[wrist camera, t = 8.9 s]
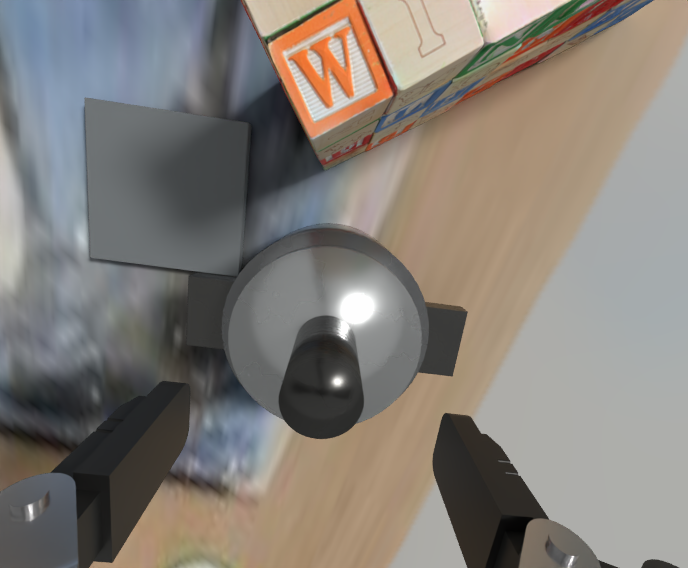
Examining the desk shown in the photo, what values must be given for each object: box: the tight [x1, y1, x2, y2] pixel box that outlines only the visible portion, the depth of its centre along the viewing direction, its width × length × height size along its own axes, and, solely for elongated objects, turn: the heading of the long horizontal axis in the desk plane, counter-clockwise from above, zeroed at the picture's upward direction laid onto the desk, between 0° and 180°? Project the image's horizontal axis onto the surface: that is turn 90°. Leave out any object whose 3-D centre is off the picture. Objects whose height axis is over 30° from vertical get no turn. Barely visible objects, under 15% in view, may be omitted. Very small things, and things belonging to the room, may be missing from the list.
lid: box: [228, 245, 422, 439], centre depth 15 cm, size 10×10×6 cm
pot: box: [186, 223, 467, 394], centre depth 21 cm, size 11×15×7 cm
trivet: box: [85, 98, 252, 277], centre depth 22 cm, size 10×10×1 cm
